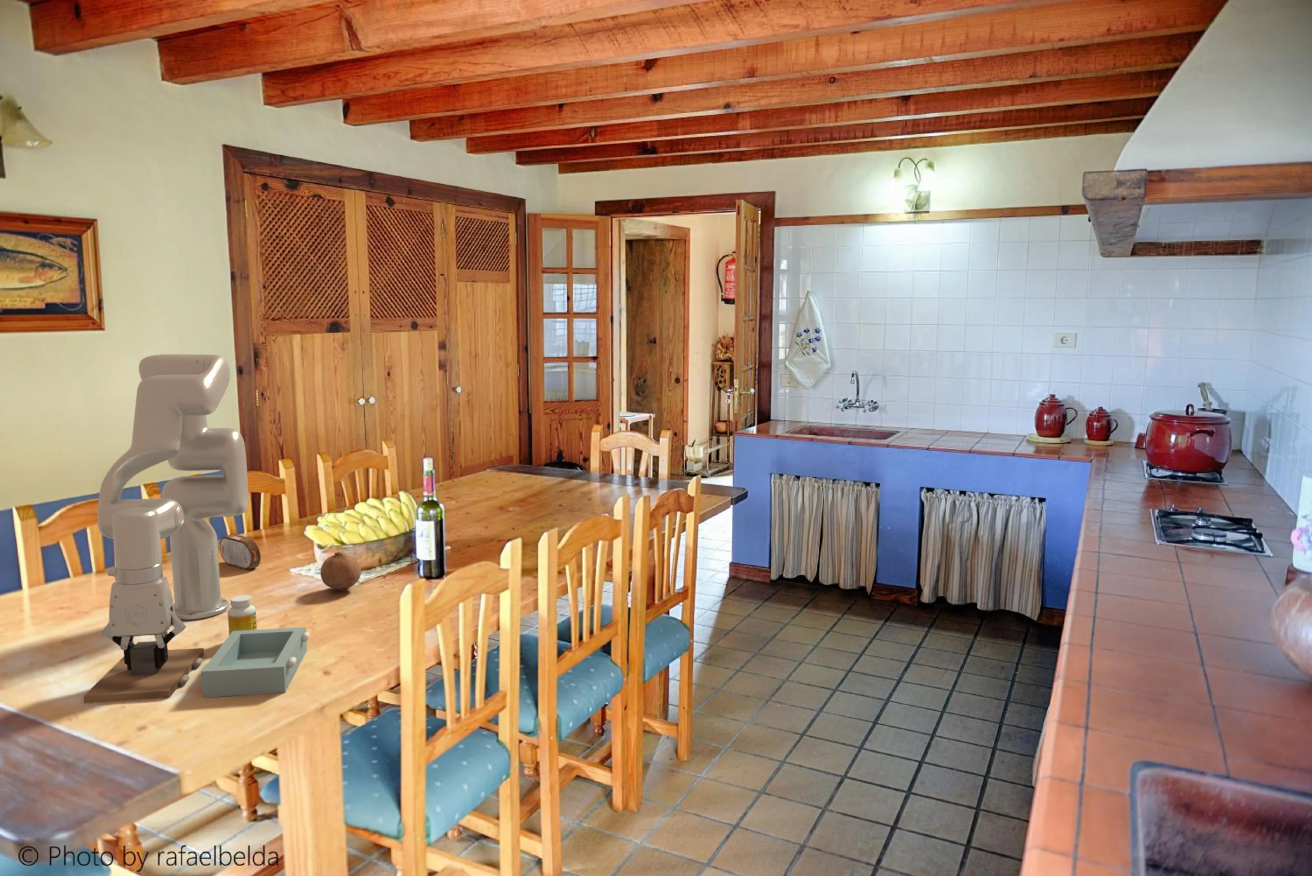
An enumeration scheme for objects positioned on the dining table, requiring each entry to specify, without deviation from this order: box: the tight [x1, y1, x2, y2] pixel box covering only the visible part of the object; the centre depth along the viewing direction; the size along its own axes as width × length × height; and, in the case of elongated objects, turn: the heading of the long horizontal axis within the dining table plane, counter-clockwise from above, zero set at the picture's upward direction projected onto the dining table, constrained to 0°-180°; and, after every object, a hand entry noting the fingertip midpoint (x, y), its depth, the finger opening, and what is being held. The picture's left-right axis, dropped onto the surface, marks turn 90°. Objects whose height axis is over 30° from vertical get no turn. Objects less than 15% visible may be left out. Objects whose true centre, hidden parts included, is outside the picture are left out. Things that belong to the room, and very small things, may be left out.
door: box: [82, 640, 205, 704], centre depth 166 cm, size 20×15×6 cm
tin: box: [219, 533, 261, 571], centre depth 236 cm, size 15×3×8 cm, turn 58°
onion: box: [320, 551, 362, 592], centre depth 217 cm, size 10×9×10 cm
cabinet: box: [201, 626, 311, 699], centre depth 169 cm, size 20×15×5 cm
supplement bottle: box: [227, 594, 258, 636], centre depth 184 cm, size 5×5×10 cm
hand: (146, 665), depth 166 cm, fingers open, 4 cm apart
